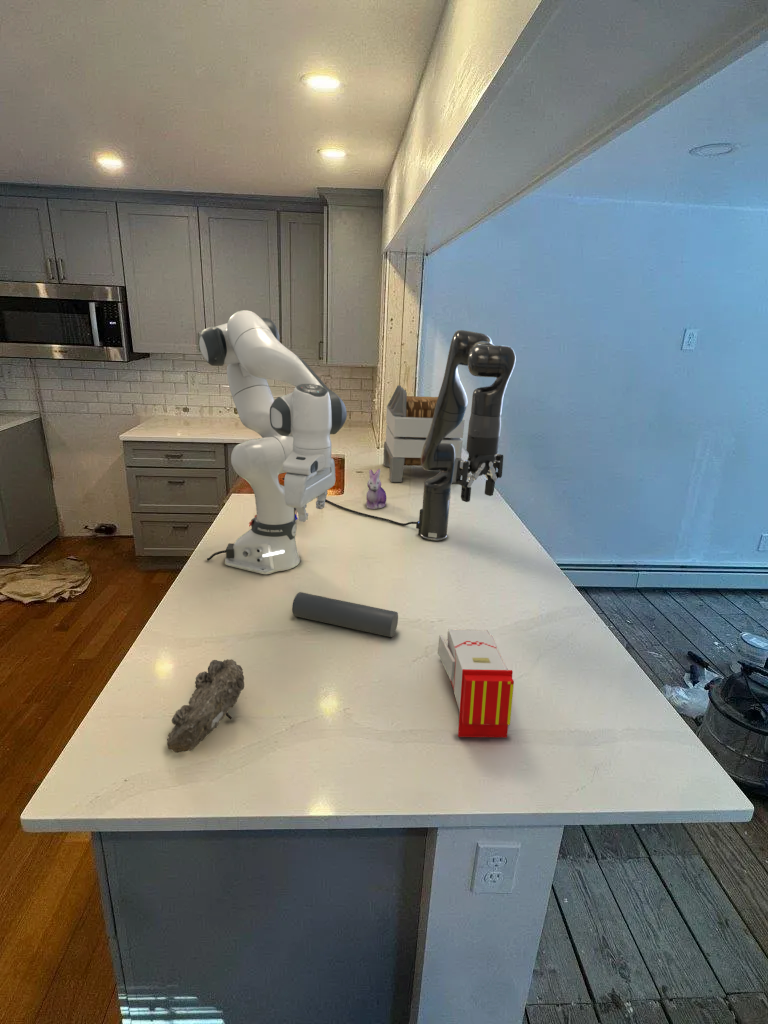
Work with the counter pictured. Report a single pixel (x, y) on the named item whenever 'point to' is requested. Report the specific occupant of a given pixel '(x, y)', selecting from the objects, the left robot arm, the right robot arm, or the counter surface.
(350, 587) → the counter surface
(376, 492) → the figurine
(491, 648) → the toy
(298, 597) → the rod
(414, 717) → the counter surface
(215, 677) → the fossil
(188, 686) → the counter surface
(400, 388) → the white crate
